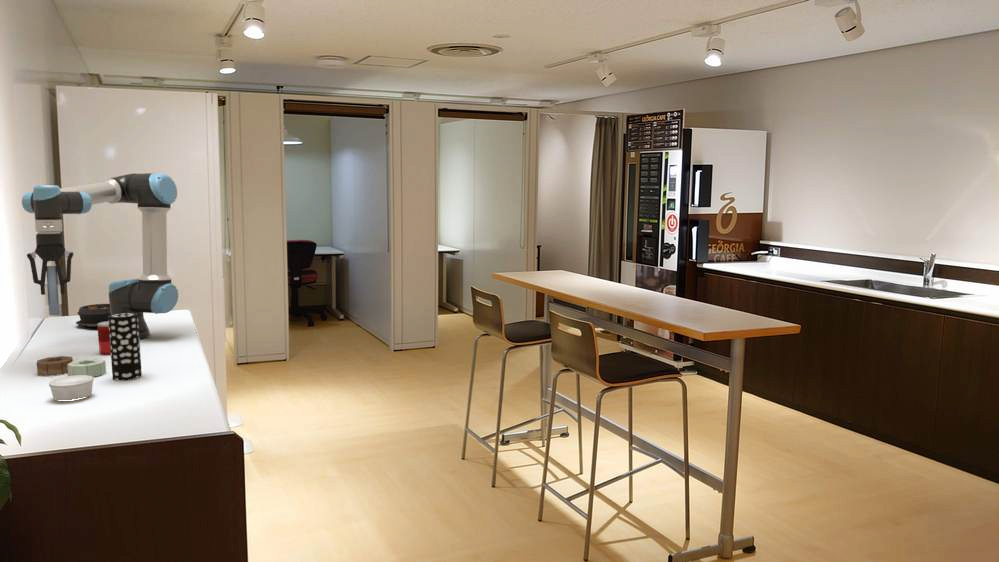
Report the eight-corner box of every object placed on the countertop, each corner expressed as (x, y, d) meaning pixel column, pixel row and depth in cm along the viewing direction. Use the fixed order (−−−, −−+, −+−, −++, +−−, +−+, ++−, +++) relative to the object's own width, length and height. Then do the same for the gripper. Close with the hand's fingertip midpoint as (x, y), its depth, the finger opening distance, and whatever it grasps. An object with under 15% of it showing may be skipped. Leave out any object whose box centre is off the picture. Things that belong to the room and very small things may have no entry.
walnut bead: (73, 366, 251) (72, 355, 250) (73, 373, 242) (72, 361, 242) (38, 370, 246) (37, 358, 246) (37, 377, 237) (36, 365, 237)
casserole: (72, 323, 328) (70, 304, 327) (119, 318, 339) (117, 300, 338) (80, 332, 308) (78, 312, 307) (130, 327, 319) (128, 308, 318)
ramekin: (63, 405, 208) (62, 387, 207) (42, 399, 214) (40, 381, 213) (102, 395, 217) (101, 378, 217) (81, 390, 223) (80, 373, 222)
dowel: (59, 313, 249) (56, 265, 247) (59, 314, 246) (56, 266, 244) (49, 314, 247) (46, 266, 246) (48, 315, 245) (45, 266, 243)
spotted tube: (147, 375, 240) (143, 313, 237) (127, 381, 232) (122, 318, 230) (127, 372, 243) (123, 312, 240) (106, 379, 235) (101, 316, 232)
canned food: (113, 355, 267) (111, 325, 265) (94, 354, 269) (92, 324, 267) (128, 350, 274) (126, 321, 273) (109, 349, 276) (107, 320, 274)
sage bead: (96, 369, 248) (95, 357, 247) (110, 373, 242) (109, 361, 241) (64, 375, 240) (63, 363, 239) (77, 380, 234) (76, 367, 233)
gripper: (19, 233, 237) (24, 307, 239) (77, 232, 244) (81, 304, 247) (21, 232, 243) (26, 304, 246) (77, 231, 251) (81, 301, 253)
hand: (53, 304), depth 246 cm, fingers closed on dowel, 3 cm apart
